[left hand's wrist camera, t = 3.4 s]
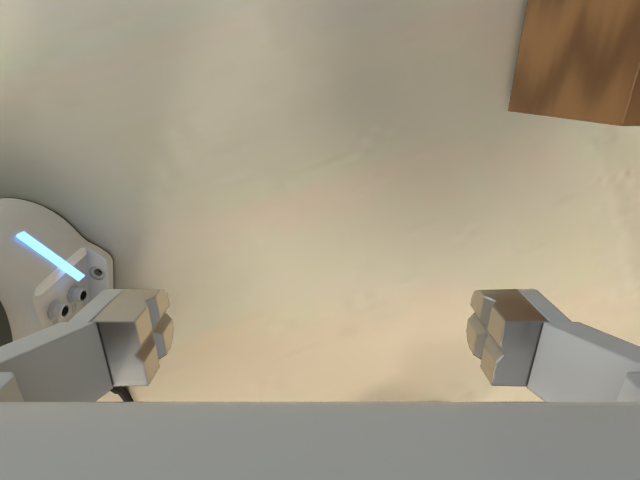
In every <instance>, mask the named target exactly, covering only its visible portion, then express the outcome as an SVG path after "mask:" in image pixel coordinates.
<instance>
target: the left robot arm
mask: <svg viewBox="0 0 640 480" xmlns="http://www.w3.org/2000/svg"><path fill="white" fill-rule="evenodd" d="M98 269H100V270H101V271H102V273H101V272H99V271H98ZM470 305H471V307H472V308H473V310H474V311H475V313H474V314H473V315H472V316H471V317H470V318H469V319H468V323H467V330H466V331H467V341H468V344H469V347H470V349H471V351H472V353H473V355H475V356H476V357H478V358H479V359H481V366H480V367H481V369H482V370H483V372H484V374H485V375H486V377H487V379H488V380H489V382H490V384H491V385H492V386H527V389H529V390H530V391H531V392H533V393H534V394H536V395H537V396H538V397H540V398H541V399H542V400H544V401H545V402H133V400H132V398H131V396H130V395H129V393H128V392H127V391H126V389H125V388H124V387H122V386H149V384H150V382H151V380H152V379H153V377H154V375H155V374H156V372H157V370H158V369H159V367H160V366H159V359H161V358H162V357H164V356H165V355H167V353H168V351H169V349H170V348H171V344H172V340H173V322H172V319H171V318H170V317H169V316H168V315H167V314H166V313H165V311H166V310H167V308H168V307H169V300H168V295H167V293H166V292H165V291H164V290H141V289H113V259H112V257H111V256H110V255H109V254H108V253H107V252H106V251H105V250H103V249H101V248H100V247H98V246H96V245H94V244H92V243H90V242H88V241H87V240H85V239H84V238H83V237H82V236H81V235H80V234H79V233H78V232H77V231H76V230H75V229H74V228H73V227H72V226H71V225H70V224H69V223H68V222H67V221H65V220H64V219H63V218H61V217H60V216H59V215H57V214H56V213H54V212H53V211H51V210H49V209H47V208H45V207H43V206H41V205H38V204H36V203H33V202H30V201H26V200H21V199H14V198H0V480H640V347H639V346H637V345H634V344H632V343H629V342H627V341H624V340H622V339H619V338H617V337H614V336H612V335H609V334H607V333H604V332H602V331H600V330H597V329H595V328H592V327H590V326H587V325H585V324H582V323H580V322H572V321H571V320H569V319H568V318H567V317H566V316H565V315H564V314H563V313H562V312H561V311H560V310H558V309H557V308H556V307H555V306H554V305H553V304H552V303H551V302H550V301H549V300H547V299H546V298H545V297H544V296H543V295H542V294H541V293H540V292H539V291H538V290H535V289H503V290H477V291H474V293H473V295H472V299H471V304H470ZM109 391H111V392H113V393H115V394H118V395H119V396H120V397H121V398H122V400H123V401H124V402H95V401H97V400H98V399H99V398H101V397H102V396H103V395H105V394H106V393H107V392H109Z"/></svg>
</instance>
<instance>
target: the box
mask: <svg viewBox="0 0 640 480" xmlns="http://www.w3.org/2000/svg"><path fill="white" fill-rule="evenodd" d="M508 111H513V112H520V113H528V114H535V115H543V116H550V117H558V118H565V119H573V120H580V121H588V122H595V123H603V124H610V125H618V126H640V0H528V3H527V8H526V14H525V19H524V25H523V30H522V36H521V42H520V47H519V53H518V58H517V64H516V69H515V75H514V81H513V86H512V92H511V97H510V103H509V109H508Z"/></svg>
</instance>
